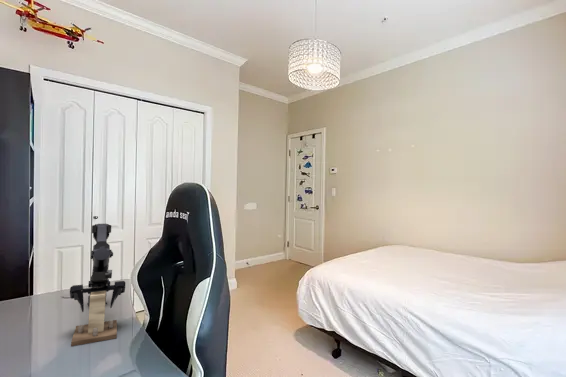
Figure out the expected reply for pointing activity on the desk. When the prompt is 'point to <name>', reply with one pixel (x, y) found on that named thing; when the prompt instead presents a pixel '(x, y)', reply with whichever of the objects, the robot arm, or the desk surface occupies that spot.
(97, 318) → the birch block
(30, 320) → the desk surface
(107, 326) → the board
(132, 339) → the desk surface
